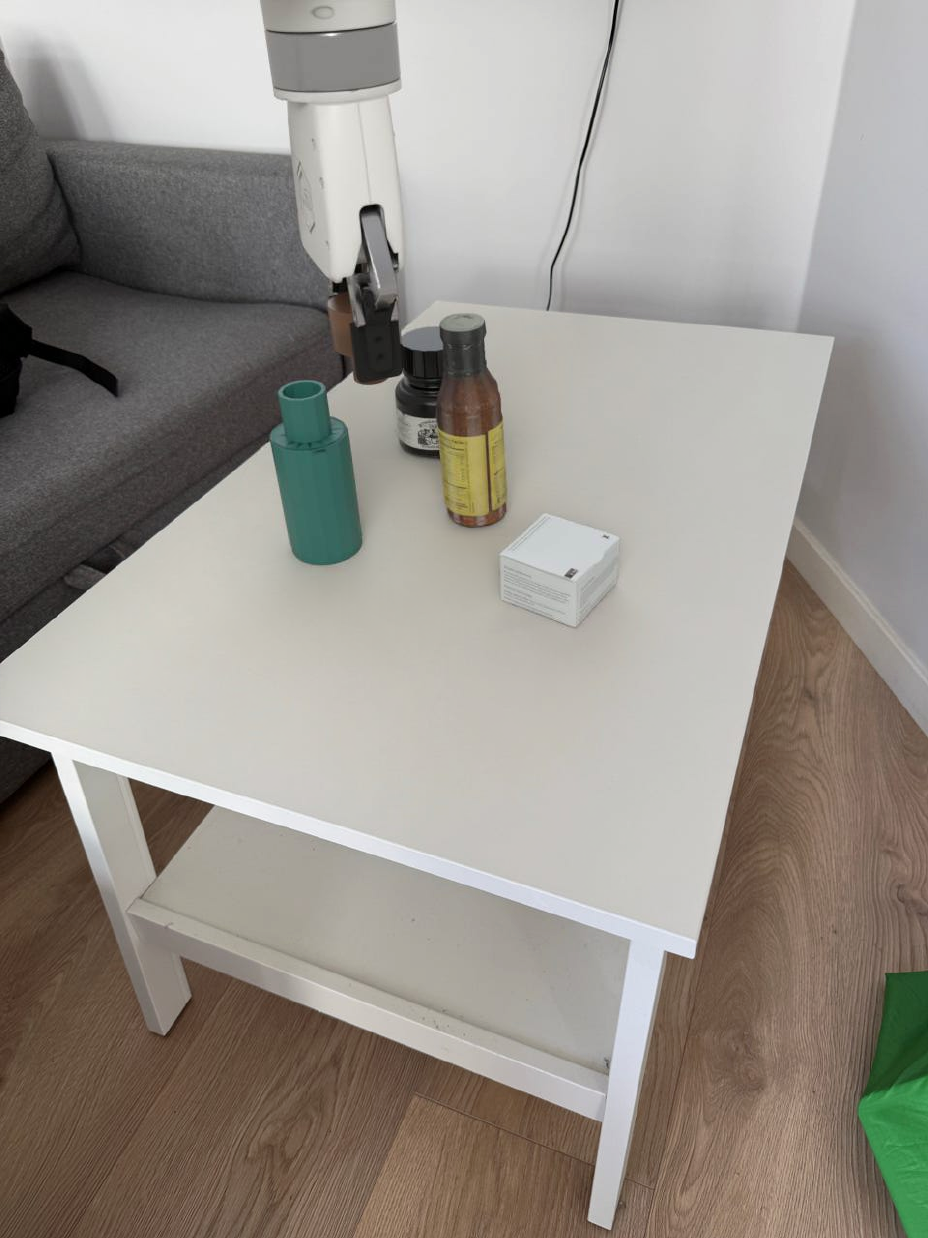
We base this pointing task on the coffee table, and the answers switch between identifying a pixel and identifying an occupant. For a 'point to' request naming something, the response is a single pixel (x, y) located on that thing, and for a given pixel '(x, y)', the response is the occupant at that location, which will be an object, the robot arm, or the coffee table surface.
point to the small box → (559, 569)
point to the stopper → (347, 327)
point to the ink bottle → (420, 390)
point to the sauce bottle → (470, 426)
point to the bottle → (315, 476)
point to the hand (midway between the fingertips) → (368, 359)
